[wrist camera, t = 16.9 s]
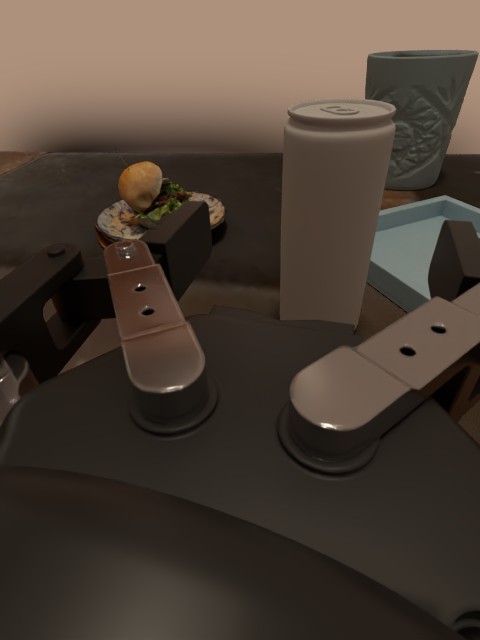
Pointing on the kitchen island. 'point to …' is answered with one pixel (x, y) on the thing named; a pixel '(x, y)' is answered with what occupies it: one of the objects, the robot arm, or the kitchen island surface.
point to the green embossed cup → (419, 108)
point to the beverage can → (331, 204)
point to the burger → (147, 204)
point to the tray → (412, 247)
